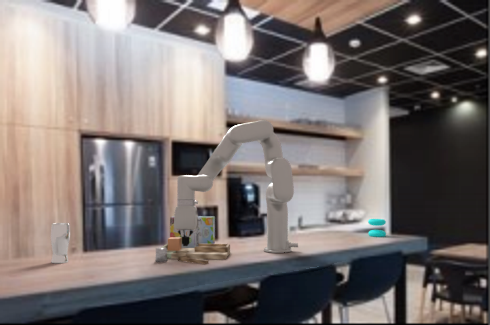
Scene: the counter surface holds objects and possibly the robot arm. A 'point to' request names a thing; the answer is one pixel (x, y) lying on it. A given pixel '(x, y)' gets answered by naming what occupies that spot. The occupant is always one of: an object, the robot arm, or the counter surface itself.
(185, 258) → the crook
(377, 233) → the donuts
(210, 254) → the wooden tray
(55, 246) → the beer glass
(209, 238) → the snack box
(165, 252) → the can
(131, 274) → the counter surface
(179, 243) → the cube
